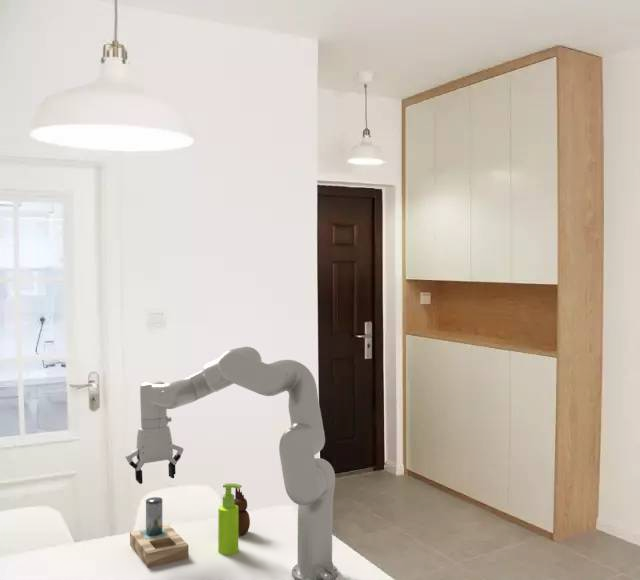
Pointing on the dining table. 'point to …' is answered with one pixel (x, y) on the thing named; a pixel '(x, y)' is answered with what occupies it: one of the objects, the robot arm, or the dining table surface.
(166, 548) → the housing
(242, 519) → the wooden figurine
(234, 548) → the soap dispenser
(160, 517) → the grey cylinder
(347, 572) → the dining table surface
